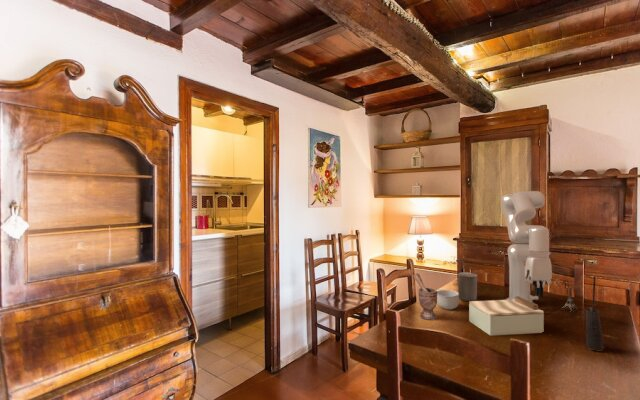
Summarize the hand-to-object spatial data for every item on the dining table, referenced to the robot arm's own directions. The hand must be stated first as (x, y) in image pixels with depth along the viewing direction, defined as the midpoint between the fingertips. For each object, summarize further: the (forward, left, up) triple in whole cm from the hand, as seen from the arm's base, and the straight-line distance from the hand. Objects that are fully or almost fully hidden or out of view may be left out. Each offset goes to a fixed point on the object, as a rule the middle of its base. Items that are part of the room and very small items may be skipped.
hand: (538, 295), depth 150 cm
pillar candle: (+11, -40, -13) cm, 43 cm away
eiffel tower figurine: (-31, -17, -14) cm, 38 cm away
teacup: (+29, -29, -14) cm, 43 cm away
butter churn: (-4, +22, -13) cm, 26 cm away
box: (+16, -1, -13) cm, 21 cm away
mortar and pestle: (+46, -17, -13) cm, 50 cm away
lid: (+16, -1, -5) cm, 16 cm away
